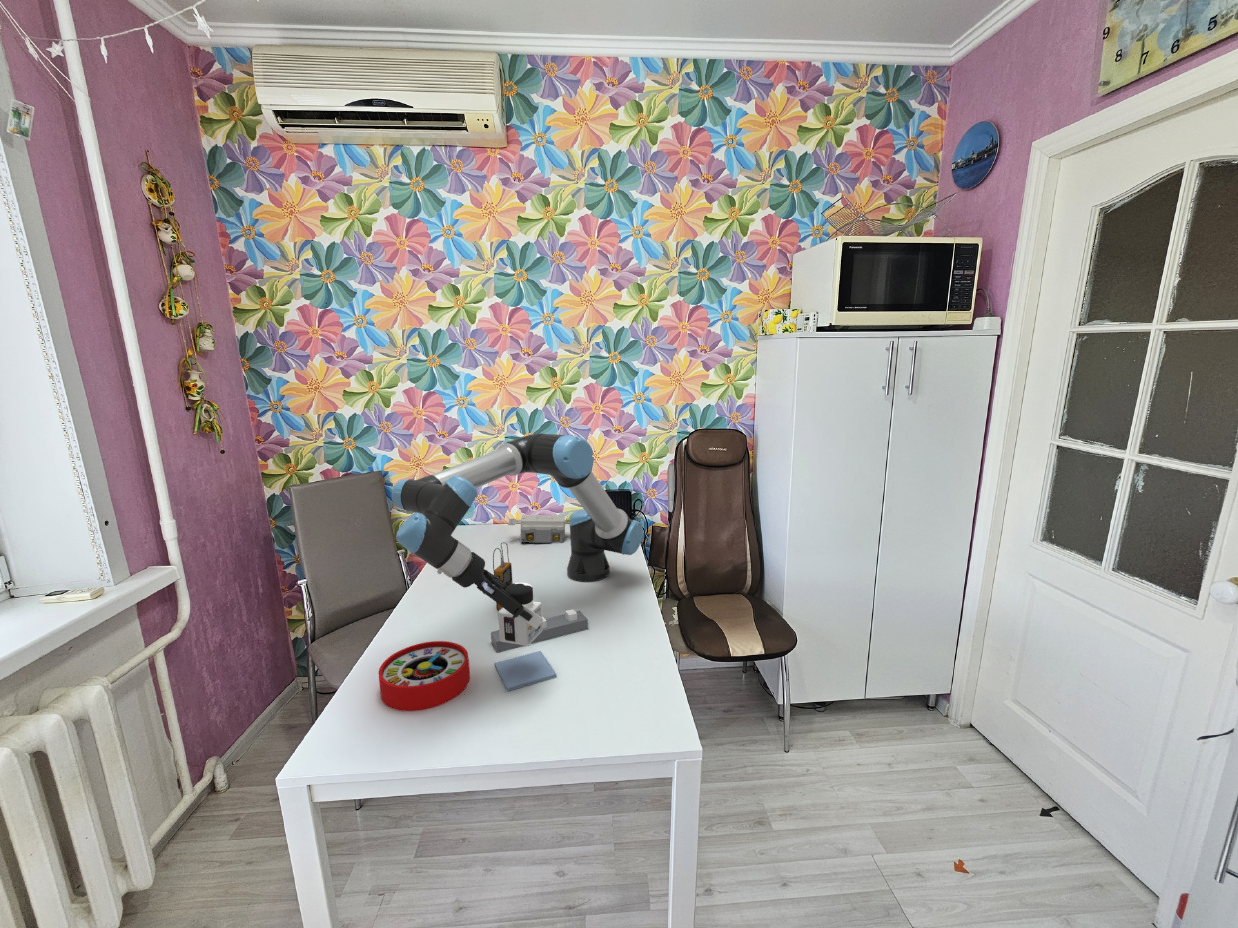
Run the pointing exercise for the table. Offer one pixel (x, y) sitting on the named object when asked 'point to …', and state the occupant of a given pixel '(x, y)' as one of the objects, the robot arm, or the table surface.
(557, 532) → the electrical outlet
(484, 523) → the table surface
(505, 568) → the multimeter
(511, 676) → the pad
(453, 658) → the toy clock
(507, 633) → the container
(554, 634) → the breaker panel
